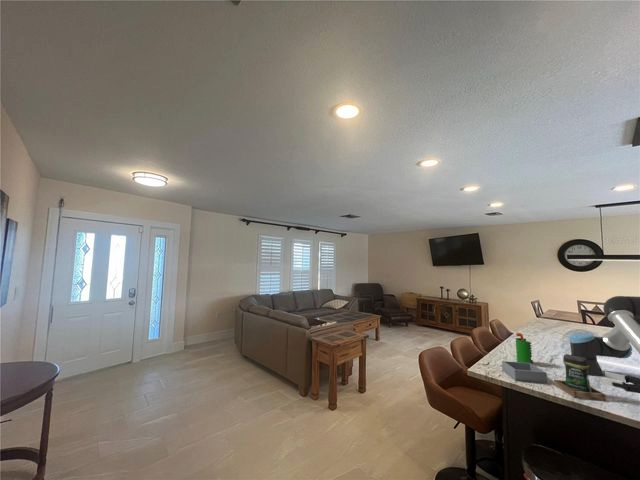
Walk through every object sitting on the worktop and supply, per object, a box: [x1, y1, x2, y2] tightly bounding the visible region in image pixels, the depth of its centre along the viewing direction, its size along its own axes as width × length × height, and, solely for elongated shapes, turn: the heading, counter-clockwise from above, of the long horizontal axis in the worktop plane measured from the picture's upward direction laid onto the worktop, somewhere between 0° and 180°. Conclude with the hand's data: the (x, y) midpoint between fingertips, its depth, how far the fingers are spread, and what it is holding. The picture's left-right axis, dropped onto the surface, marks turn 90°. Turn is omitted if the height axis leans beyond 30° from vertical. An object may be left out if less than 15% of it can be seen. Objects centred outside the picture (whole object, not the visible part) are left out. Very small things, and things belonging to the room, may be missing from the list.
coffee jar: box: [562, 354, 592, 392], centre depth 135 cm, size 10×8×19 cm
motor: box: [515, 332, 534, 365], centre depth 180 cm, size 10×9×20 cm
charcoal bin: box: [501, 360, 548, 384], centre depth 155 cm, size 16×16×6 cm
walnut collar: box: [553, 379, 607, 402], centre depth 134 cm, size 13×15×3 cm
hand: (603, 377), depth 128 cm, fingers open, 13 cm apart
